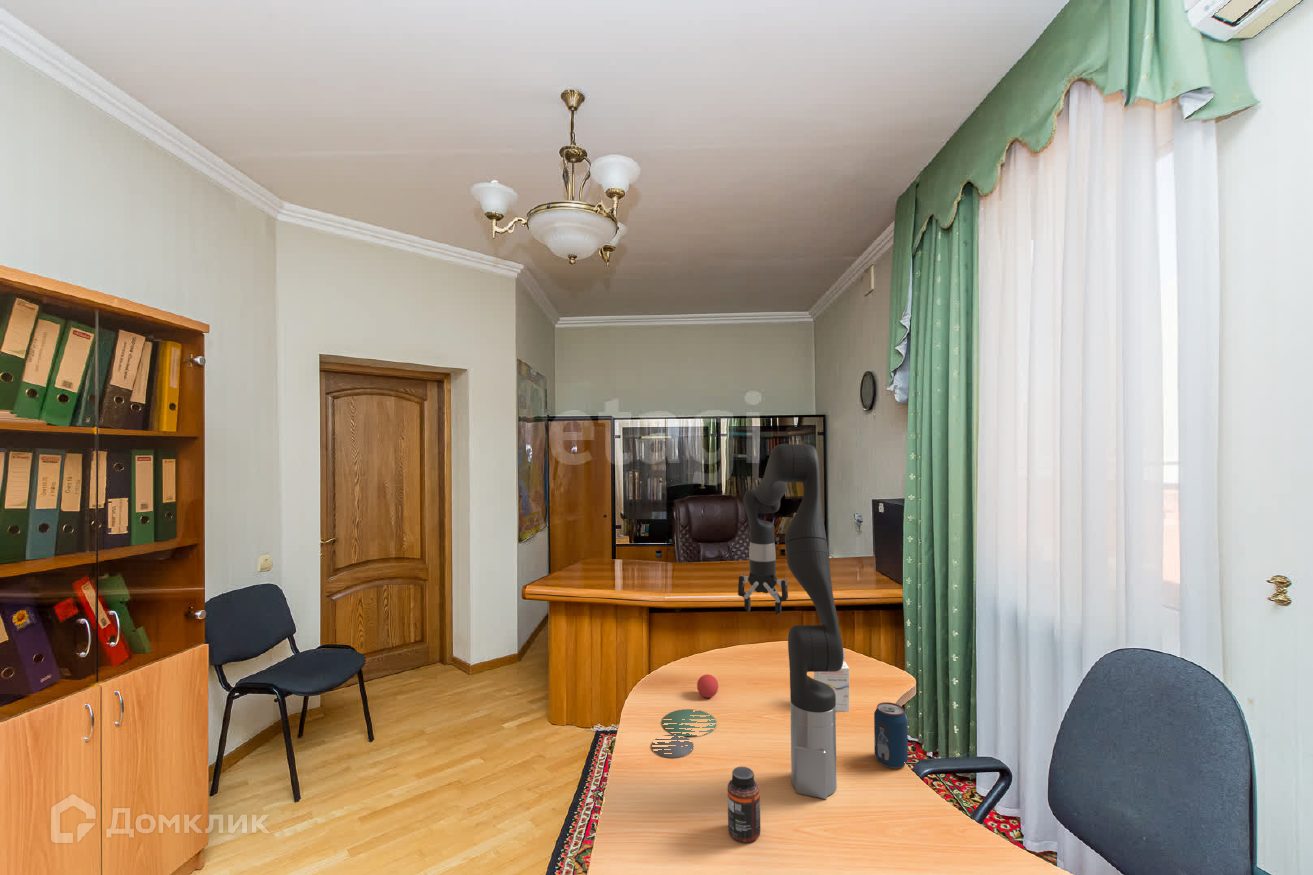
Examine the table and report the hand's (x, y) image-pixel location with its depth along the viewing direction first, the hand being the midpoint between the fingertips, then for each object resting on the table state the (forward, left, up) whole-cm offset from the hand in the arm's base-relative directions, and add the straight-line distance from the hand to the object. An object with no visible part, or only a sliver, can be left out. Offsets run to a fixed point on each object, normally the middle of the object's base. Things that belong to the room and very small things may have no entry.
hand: (762, 612), depth 169 cm
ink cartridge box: (-6, -20, -22) cm, 30 cm away
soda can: (-28, -35, -22) cm, 50 cm away
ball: (-12, +13, -19) cm, 26 cm away
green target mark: (-28, +13, -22) cm, 38 cm away
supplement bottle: (-63, -10, -22) cm, 67 cm away
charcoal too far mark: (-40, +13, -22) cm, 47 cm away
